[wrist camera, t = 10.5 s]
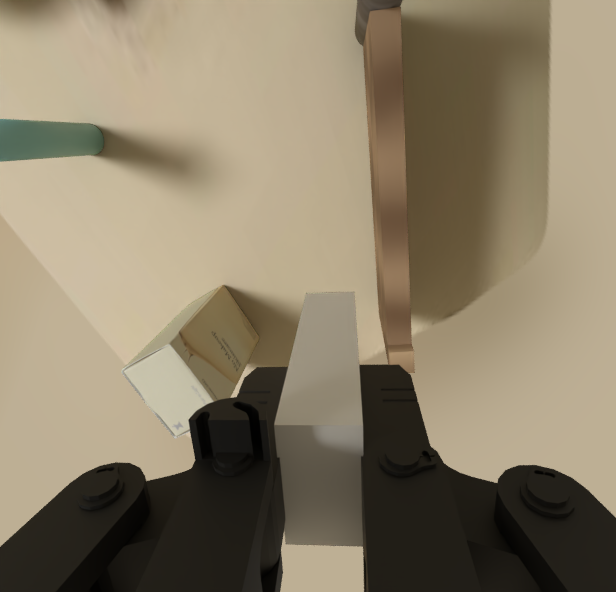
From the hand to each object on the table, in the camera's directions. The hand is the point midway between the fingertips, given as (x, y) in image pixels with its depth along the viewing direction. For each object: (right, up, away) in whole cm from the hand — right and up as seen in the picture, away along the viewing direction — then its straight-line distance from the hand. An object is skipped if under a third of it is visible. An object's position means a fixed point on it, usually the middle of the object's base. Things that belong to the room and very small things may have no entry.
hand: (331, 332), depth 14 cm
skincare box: (-9, -1, +26) cm, 28 cm away
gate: (+5, +11, +20) cm, 23 cm away
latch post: (-18, +14, +21) cm, 31 cm away
